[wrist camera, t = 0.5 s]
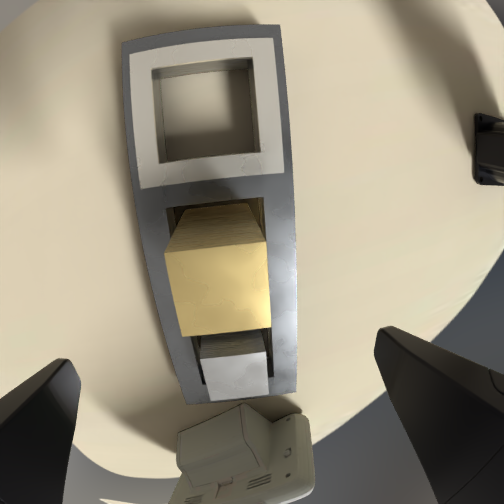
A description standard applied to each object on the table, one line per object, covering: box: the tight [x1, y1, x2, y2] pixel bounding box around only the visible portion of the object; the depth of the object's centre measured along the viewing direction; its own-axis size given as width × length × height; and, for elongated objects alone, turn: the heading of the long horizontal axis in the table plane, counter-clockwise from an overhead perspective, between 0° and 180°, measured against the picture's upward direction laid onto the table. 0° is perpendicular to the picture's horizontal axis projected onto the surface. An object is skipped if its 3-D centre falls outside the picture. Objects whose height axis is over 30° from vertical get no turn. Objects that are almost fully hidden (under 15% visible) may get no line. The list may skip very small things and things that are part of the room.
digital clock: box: [168, 403, 315, 504], centre depth 22 cm, size 16×9×11 cm, turn 114°
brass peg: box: [164, 203, 271, 337], centre depth 16 cm, size 4×4×8 cm
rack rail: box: [122, 25, 297, 404], centre depth 18 cm, size 9×26×3 cm, turn 4°
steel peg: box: [200, 329, 269, 401], centre depth 20 cm, size 4×4×5 cm
